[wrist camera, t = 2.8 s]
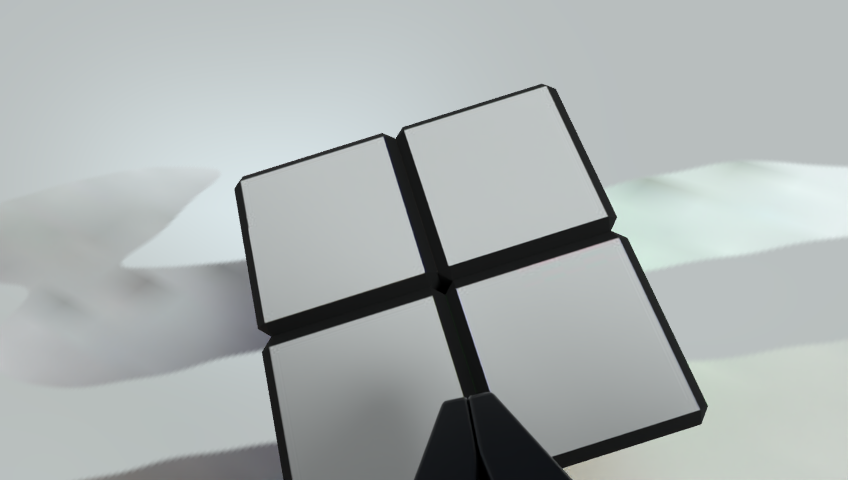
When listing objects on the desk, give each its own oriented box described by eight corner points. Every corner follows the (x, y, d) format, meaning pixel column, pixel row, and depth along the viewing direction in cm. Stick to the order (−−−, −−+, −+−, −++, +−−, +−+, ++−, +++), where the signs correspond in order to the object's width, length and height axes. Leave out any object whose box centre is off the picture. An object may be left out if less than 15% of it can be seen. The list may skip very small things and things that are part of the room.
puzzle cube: (325, 273, 24) (226, 175, 15) (525, 209, 24) (553, 72, 15) (377, 498, 20) (291, 557, 11) (612, 423, 21) (722, 419, 11)
